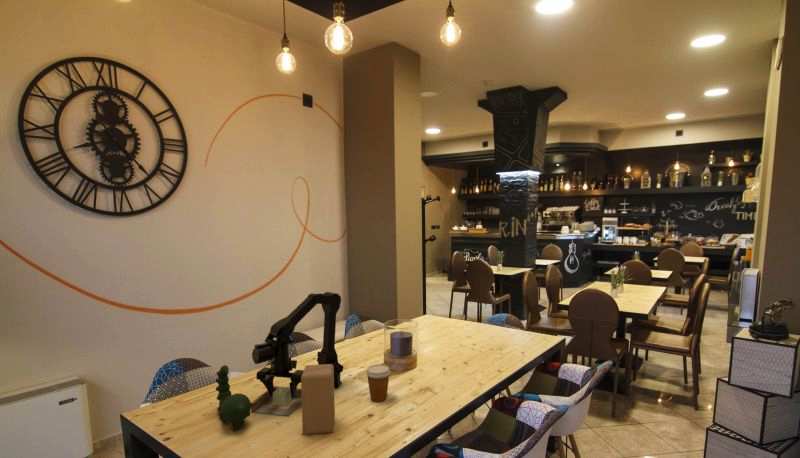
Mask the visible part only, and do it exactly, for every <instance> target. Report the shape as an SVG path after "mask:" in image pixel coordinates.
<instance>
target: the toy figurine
mask: <svg viewBox="0 0 800 458" xmlns="http://www.w3.org/2000/svg"><path fill="white" fill-rule="evenodd" d="M229 370H230V368H229V367H228V365H222V366H221V367H220V368H219V370H218V371H217V372H216V376H217V378H216V379H215V383H217V385H218V386H216V387H215V391H217V392H218V394H217V396H216V400H218V401H219V402H218V407H217V409H216V410H217V412H218V413H220V414H219V416H218V418H219V420H221V423H224V424H227V423H228V424H229V423H230V424H231V429H233V430H239V429H241V428H243V427H244V426H245V424H246V421H245V420H246V419H247V418H249V417H250V416H251V403H252V402H251V400H250V398H249V396H247V395H246V394H243V393H237V392H236V393H234V394H232V391H231V389H230V387H231V384H230V383H229V376H228V374H229Z"/></svg>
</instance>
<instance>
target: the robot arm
mask: <svg viewBox="0 0 800 458" xmlns="http://www.w3.org/2000/svg"><path fill="white" fill-rule="evenodd" d="M341 303H342V296H341V295H340V294H339V293H335V292H331V291H326V292H324V293H314V292H313V293H312V292H311V293H310V294H308V296H307V297H306V298H305V299H304V300H302V302H301V303H300V304H298V305H297V307H295V308H294V309H293V310H292V311H291V312H290V313H289V314H288V315H287V316H286V317H283V318H281V319H279V320H278V321H276V322H275V323H274V324H273V325H271V326H270V330H269V333H268V335H266V338H265V339H264V342H263V343H259V344H255V345H254V348H253V349H252V353H251V358H252V361H253V363H254V364H255V365H259V364H262V363H265V362H269V361H270V360H272V359H273V361H272V364H274V371H273V368H270V367H268V366H264V367H262V368H260V369H259V370H258V371H257V372H256V377H255V378H256V379H255V380H259V382H260V383H262V384H263V385H264V387H265V388H266V391H267V390H268V392H269V394H270V395H271V396H273V392H274V388H273V386H274V379H275V378H285V379H290V382H289V383H288V385H289V387H290V393H291V398H293V397H294V395H295V392H296V388H298V386H299V384H301V376H302V374H303V371H304V369H303V370H301V369H297V365H298V364H297V363H298V360H295V359H292V357H291V356H290V352H289V351H290V348H289V346H290V345H291V344H294V343H295V341H294V340H293V339H291V338H290V337H291V336H292V335H293V333H294V331H295V329H296V327H297V325H298V324H299V323H300V322H301V321H302V319H304V318H305V317H306V316H307V315H308V314H309V313H310V312H311V311H312V309H314V308H315V306H317V305H321V308H322V311H323V314H324V317H323V320H324V321H323V334H322V335H323V336H322V348H321V350H320V351H317V352H316V353H317V359H316V362H317V365H323V364H332V365H333V366H334V390H336V389H339V387H340V386H341V385H342V384H343V381H341V379H342V378H341V374H342V373H343V371H344V366H343V365H342V364H340V362H339V360H338V358H339V357H338V356H339V355H338V353H337V350H336V348H335V347H336V345H335V344H336V325H337V313H338V312H339V310H340V308H341ZM293 369H295V370H294V371H293ZM292 371H293V372H292Z"/></svg>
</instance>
